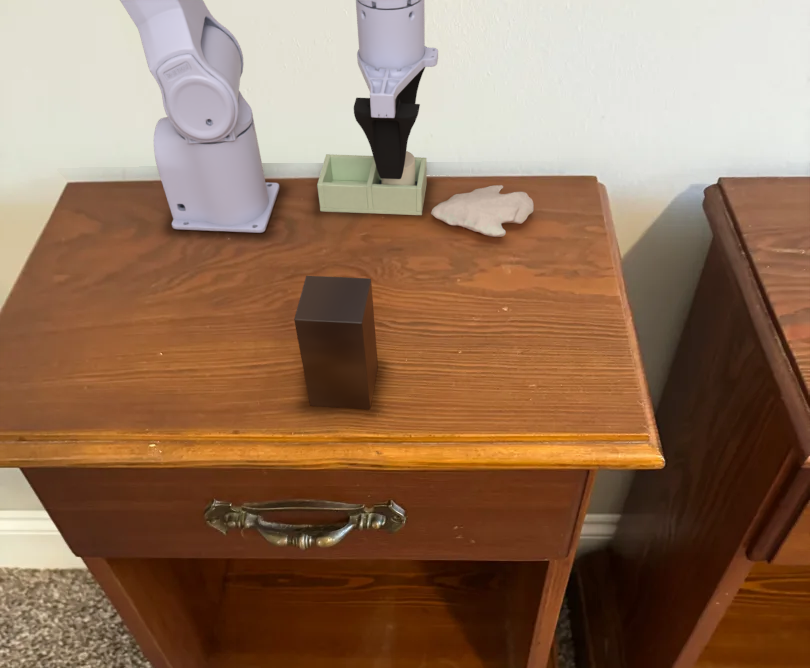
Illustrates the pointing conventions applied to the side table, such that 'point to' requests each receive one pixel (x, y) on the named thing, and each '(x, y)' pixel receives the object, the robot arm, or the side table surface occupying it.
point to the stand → (337, 341)
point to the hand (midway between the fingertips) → (395, 154)
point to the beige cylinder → (404, 173)
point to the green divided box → (368, 187)
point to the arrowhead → (485, 210)
